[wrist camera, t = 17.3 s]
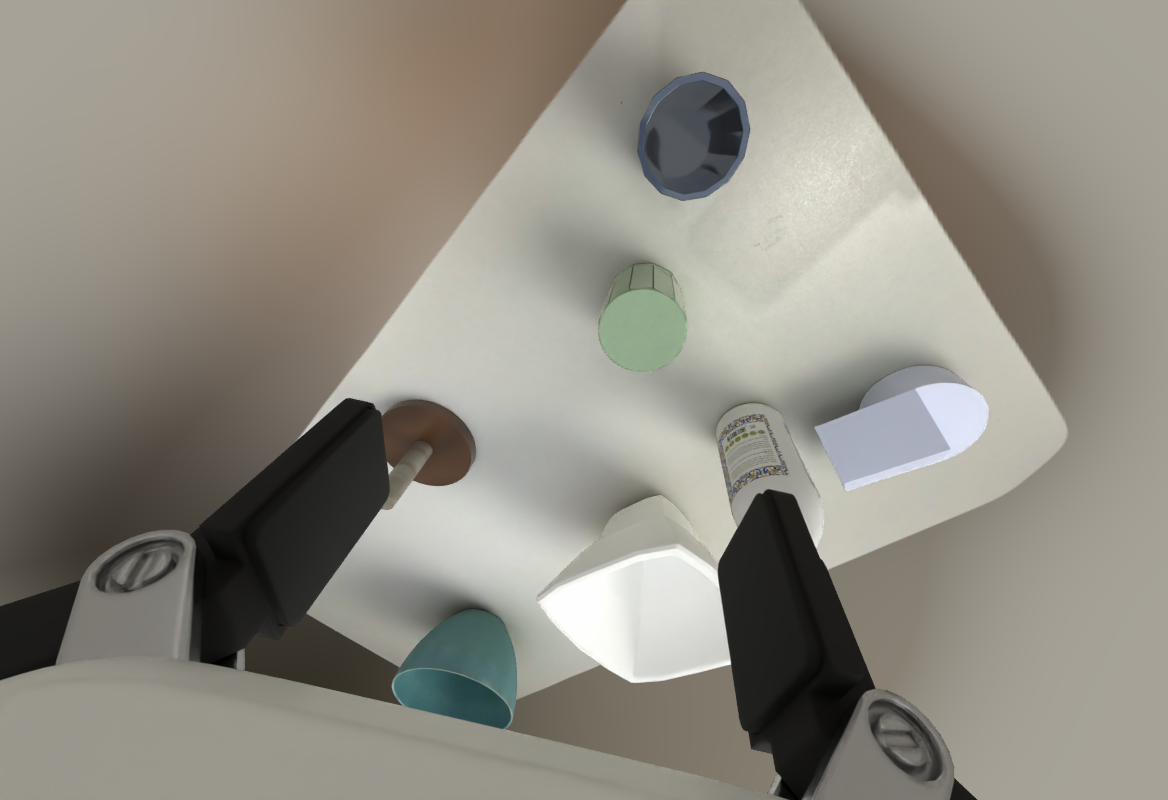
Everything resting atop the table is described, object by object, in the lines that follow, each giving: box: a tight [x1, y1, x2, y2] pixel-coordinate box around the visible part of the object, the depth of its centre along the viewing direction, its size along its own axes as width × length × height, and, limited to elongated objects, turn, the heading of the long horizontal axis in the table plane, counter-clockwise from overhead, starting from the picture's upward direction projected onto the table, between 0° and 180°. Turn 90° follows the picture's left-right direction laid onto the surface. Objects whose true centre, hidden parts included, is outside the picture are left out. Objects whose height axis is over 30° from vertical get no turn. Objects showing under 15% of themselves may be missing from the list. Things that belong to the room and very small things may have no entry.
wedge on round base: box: [814, 365, 989, 491], centre depth 39 cm, size 9×7×13 cm
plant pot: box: [392, 609, 517, 729], centre depth 66 cm, size 18×18×12 cm
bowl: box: [536, 495, 731, 683], centre depth 48 cm, size 19×19×14 cm
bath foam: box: [716, 403, 824, 548], centre depth 37 cm, size 7×7×20 cm
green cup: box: [598, 264, 687, 372], centre depth 36 cm, size 7×7×8 cm
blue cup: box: [637, 72, 750, 201], centre depth 29 cm, size 6×6×9 cm
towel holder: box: [381, 400, 475, 510], centre depth 48 cm, size 12×12×10 cm
